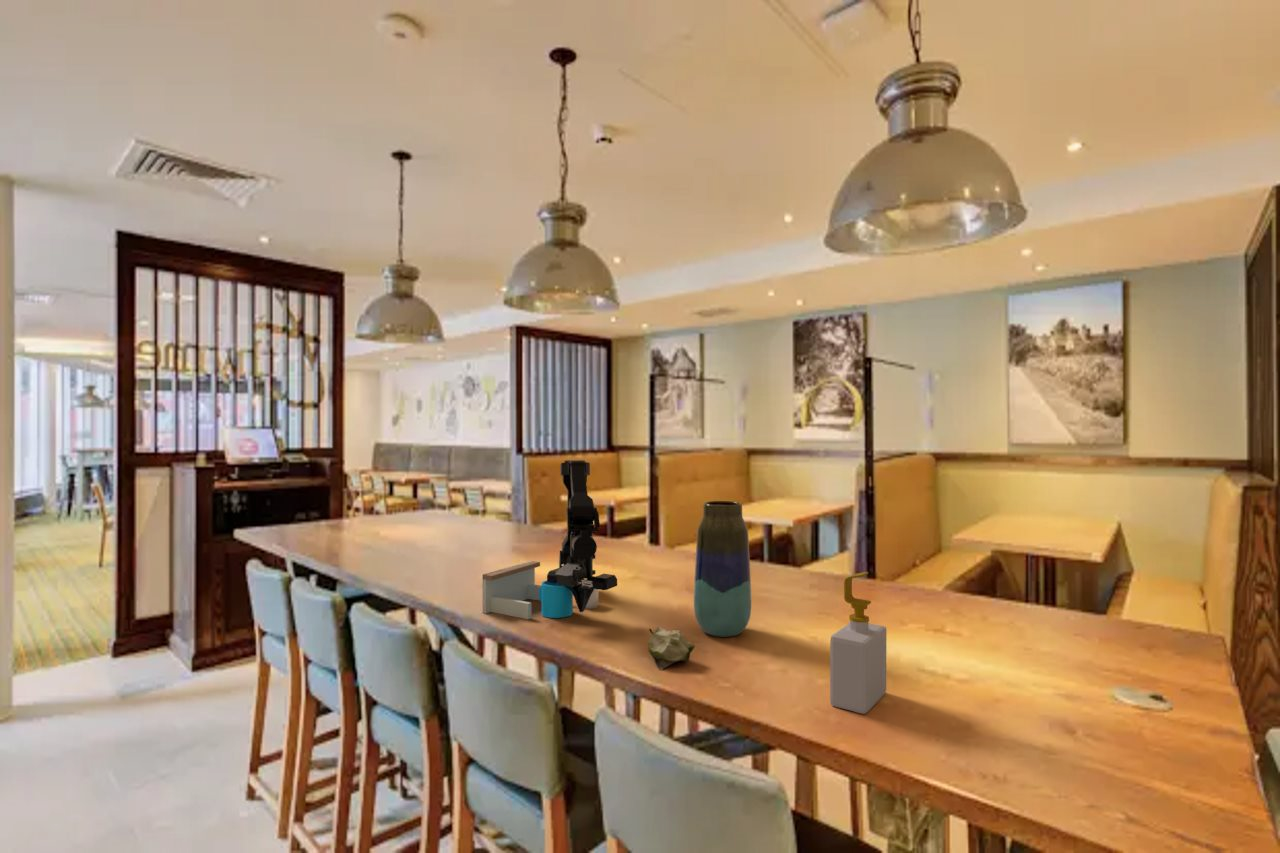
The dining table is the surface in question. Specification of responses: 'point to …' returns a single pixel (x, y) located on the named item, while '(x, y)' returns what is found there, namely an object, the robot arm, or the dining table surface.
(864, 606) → the soap bottle
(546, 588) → the mug
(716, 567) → the vase
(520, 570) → the counter bay
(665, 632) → the fruit
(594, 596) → the cream rounded cylinder
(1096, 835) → the dining table surface
